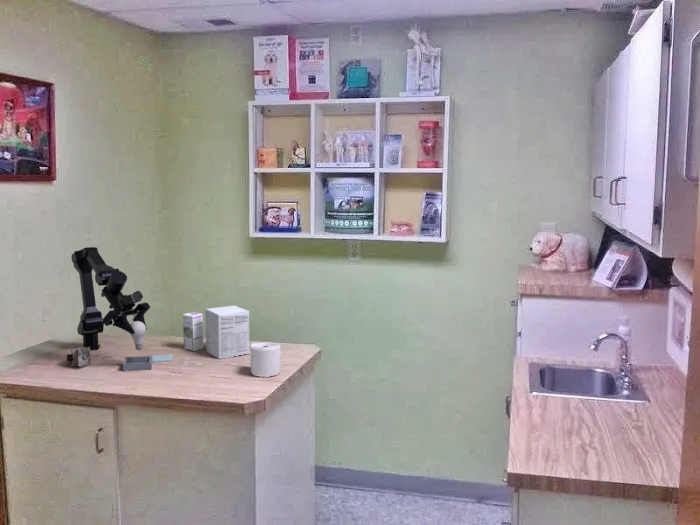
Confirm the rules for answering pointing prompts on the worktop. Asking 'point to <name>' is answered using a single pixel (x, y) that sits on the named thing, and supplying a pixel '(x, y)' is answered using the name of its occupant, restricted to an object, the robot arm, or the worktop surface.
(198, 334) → the syrup box
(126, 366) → the grey square frame
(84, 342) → the robot arm
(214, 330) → the supplement box
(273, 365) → the toilet tissue
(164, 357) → the coaster
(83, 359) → the caster wheel
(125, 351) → the worktop surface
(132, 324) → the lightbulb
